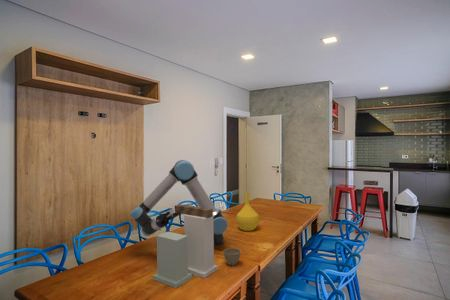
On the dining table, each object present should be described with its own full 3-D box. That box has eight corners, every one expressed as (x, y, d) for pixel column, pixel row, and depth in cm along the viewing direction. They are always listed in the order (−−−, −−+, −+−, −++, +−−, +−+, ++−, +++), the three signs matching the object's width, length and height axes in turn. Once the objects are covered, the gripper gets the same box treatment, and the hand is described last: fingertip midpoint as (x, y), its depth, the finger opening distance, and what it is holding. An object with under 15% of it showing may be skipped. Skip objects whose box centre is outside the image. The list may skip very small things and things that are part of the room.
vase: (233, 231, 210) (233, 194, 210) (239, 225, 228) (239, 190, 227) (256, 233, 204) (255, 195, 204) (260, 227, 222) (260, 191, 221)
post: (153, 279, 135) (152, 236, 135) (170, 270, 145) (169, 230, 145) (175, 288, 126) (175, 242, 126) (192, 277, 136) (191, 235, 136)
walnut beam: (174, 212, 152) (174, 205, 152) (179, 211, 155) (179, 204, 155) (208, 218, 139) (208, 210, 139) (212, 216, 142) (212, 208, 142)
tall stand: (181, 270, 144) (180, 215, 144) (195, 262, 154) (194, 211, 154) (204, 278, 136) (203, 219, 135) (217, 269, 146) (216, 214, 145)
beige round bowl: (230, 258, 160) (230, 246, 160) (244, 262, 153) (244, 250, 153) (220, 264, 152) (219, 251, 152) (233, 269, 146) (233, 256, 146)
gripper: (177, 222, 170) (199, 209, 160) (146, 233, 150) (168, 218, 139) (172, 211, 173) (194, 198, 162) (141, 220, 152) (163, 205, 142)
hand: (182, 207), depth 151 cm, fingers open, 13 cm apart
